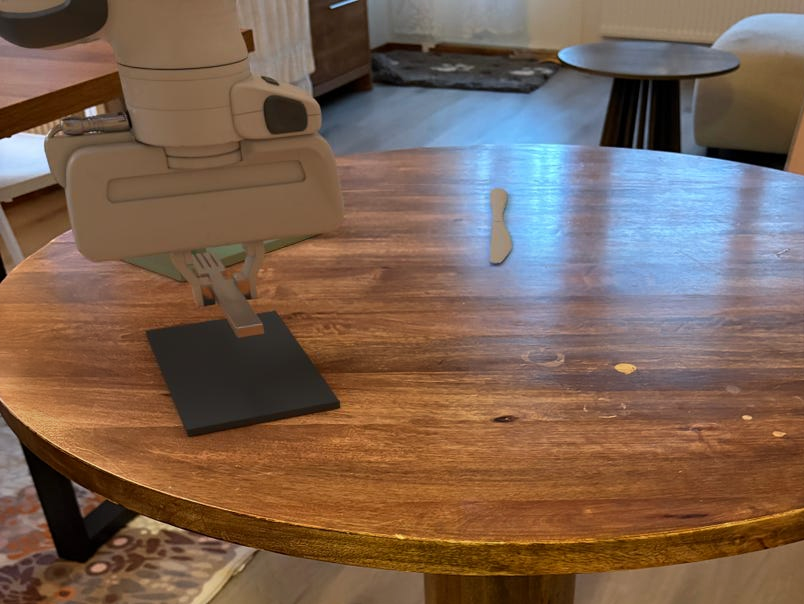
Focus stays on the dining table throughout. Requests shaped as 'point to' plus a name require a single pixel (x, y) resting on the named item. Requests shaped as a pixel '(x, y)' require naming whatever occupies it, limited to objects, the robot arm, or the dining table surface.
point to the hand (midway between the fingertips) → (226, 300)
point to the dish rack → (224, 253)
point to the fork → (228, 296)
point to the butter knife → (499, 227)
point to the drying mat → (237, 374)
